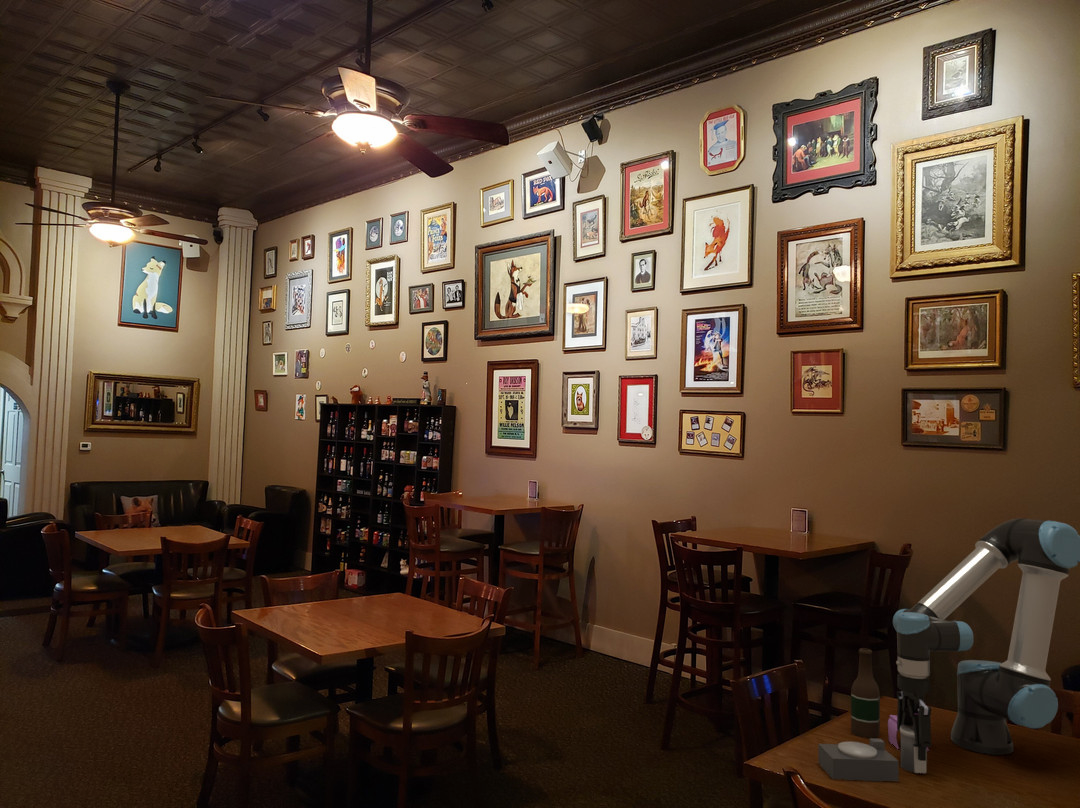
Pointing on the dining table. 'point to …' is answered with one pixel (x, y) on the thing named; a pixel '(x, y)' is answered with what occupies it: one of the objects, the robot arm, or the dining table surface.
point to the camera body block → (858, 761)
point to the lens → (908, 747)
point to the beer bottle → (865, 699)
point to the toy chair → (893, 730)
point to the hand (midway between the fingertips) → (913, 767)
